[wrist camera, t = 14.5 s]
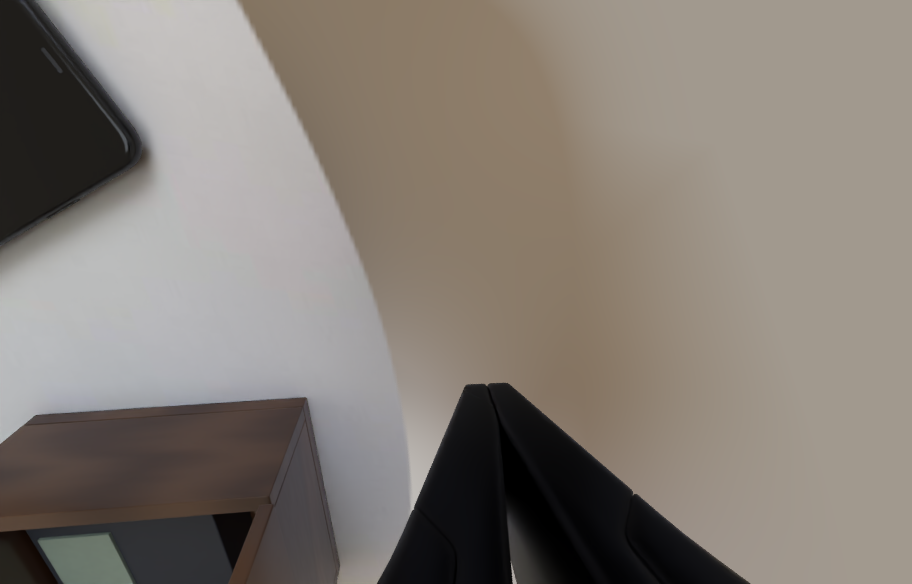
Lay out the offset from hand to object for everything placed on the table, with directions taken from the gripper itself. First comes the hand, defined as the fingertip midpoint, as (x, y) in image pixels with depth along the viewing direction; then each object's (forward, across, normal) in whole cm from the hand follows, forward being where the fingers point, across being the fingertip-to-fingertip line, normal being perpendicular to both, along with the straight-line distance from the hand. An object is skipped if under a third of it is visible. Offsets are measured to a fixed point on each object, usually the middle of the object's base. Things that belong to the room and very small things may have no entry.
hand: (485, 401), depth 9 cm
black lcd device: (+12, +16, +15) cm, 25 cm away
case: (+12, +14, +16) cm, 25 cm away
